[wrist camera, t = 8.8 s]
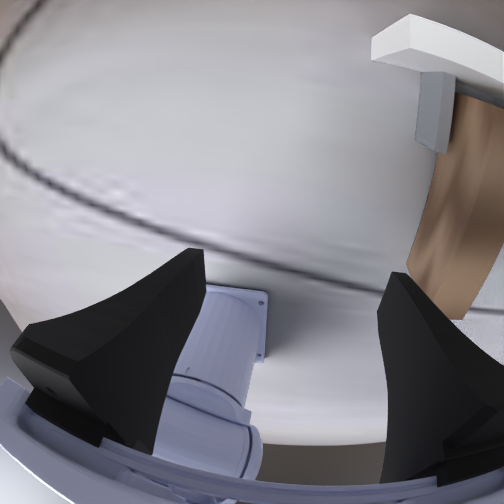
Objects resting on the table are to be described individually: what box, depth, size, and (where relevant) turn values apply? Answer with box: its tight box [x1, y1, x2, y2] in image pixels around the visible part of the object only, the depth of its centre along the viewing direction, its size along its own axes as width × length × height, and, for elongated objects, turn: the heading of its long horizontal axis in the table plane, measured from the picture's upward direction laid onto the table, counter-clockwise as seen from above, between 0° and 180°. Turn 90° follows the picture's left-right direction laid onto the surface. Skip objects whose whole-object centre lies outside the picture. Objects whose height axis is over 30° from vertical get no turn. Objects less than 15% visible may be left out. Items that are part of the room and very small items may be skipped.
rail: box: [406, 92, 504, 320], centre depth 14 cm, size 13×3×6 cm, turn 0°
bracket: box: [371, 14, 504, 154], centre depth 10 cm, size 6×13×7 cm, turn 90°
